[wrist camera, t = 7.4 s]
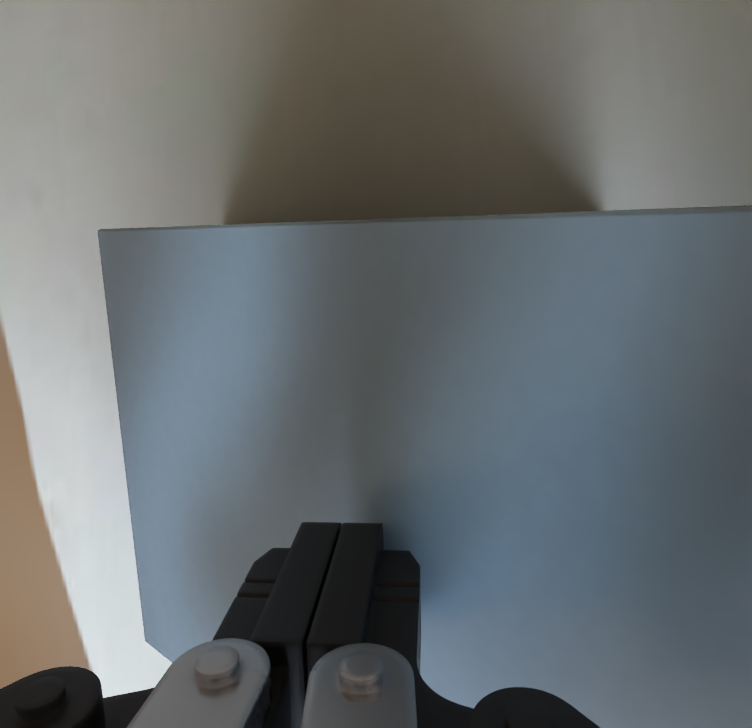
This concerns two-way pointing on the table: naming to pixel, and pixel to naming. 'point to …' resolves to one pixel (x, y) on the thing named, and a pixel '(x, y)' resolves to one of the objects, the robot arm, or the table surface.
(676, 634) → the window lid
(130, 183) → the table surface
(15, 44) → the table surface
